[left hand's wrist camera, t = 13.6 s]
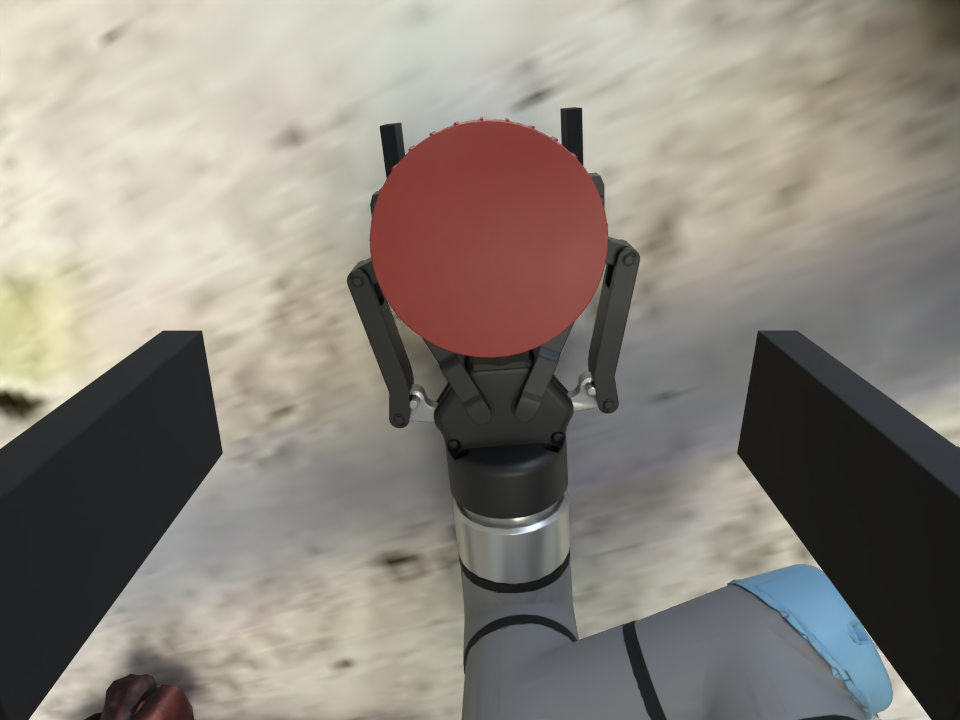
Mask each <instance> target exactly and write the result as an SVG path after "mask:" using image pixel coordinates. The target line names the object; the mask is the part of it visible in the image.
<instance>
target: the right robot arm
mask: <svg viewBox="0 0 960 720" xmlns="http://www.w3.org/2000/svg"><path fill="white" fill-rule="evenodd" d="M380 132H381V139H382V147H383V154H384V162H385V169H386V177H387V178H388V176H389V175H390V173H391V172H392V170H391V169H392V167H394V166H395V165H396V164H398V163H399V162H400V161H401V160H402V159H403V157H404V156H405V151H404V143H403V135H402V126H401V123H394V124H386V125H382V126H380ZM561 135H562V146H563V147H565V148H566V149H567V150H568V151H569V152H570V153H573V154H575V155H576V156H577V158H576V159H577V160H578V161H579V162H580V163H581V165H582V166H583V134H582V108H576V107H574V108H562V109H561ZM588 174H589V175H591V176H592V180H593V182H594V184H595V186H596V188H597V190H598V193H599V195H600V197H601V199H602V200H603V202H602V204H603V207H604V184H603V181H602V179H601V176H600V175H599V174H597V173H588ZM379 194H380V192H379V191H377V192H375V193H374V194H373V196H372V200H371V204H370V206H371V213H372V214H373V212H374V208H375V204H376V202H377V199H378V196H379ZM639 262H640V256H639V254H638V252H637V251H636V250H635V249H634V248H633V247H632V246H631V245H630V244H629V243H628V242H627V241H625V240H617V239H614V238H610V237H608V248H607V258H606V262H605V263H607V265H606V270H605V275H604V280H603V285H602V290H601V295H600V300H599V305H598V310H597V315H596V320H595V325H594V330H593V335H592V340H591V345H590V350H589V357H588V369H589V371H588V372H584V373H583V374H581V375H580V376H579V379H578V385H577V387H576V388H575V389H574V390H573V391H570V392H568V391H567V389H566V388H565V387H564V386H563V385H562V384H561V383H560V382H559V380H558V379H557V378H556V377H555V376H554V375H553V373H554V371H555V369H556V366H557V364H558V361H559V356H560V352H561V350H562V348H563V346H564V344H565V341H566V339H567V337H568V335H569V333H570V330H571V328H572V326H573V324H574V322H575V321H574V322H573V323H572V324H571V325H570V326H569V327H568V328H567V329H565V330H564V331H563V332H562V333H561V334H559V335H558V336H556V337H555V338H553V339H552V340H550V341H549V342H547V343H545V344H543V345H541V346H539V347H537V348H534V349H531V350H529V351H527V352H523V353H519V354H515V355H510V356H504V357H493V358H490V357H474V356H467V355H462V354H458V353H455V352H451V351H448V350H446V349H443V348H441V347H439V346H436V345H434V344H433V343H431V342H429V341H427V340H426V339H424V338H423V340H424V341H425V343H426V344H427V346H428V347H429V349H430V350H431V352H432V353H433V355H434V356H435V358H436V360H437V361H438V363H439V365H440V368H441V371H442V373H443V374H444V376H445V377H446V379H447V380H448V382H449V383H448V384H447V386H446V387H445V389H444V390H443V392H442V394H441V395H440V397H439V398H438V400H437V401H432V400H430V399H429V398H428V397H427V395H426V392H425V389H424V388H423V387H422V386H420V385H419V384H414V378H413V372H412V368H411V365H410V362H409V359H408V357H407V354H406V351H405V348H404V346H403V343H402V340H401V338H400V335H399V332H398V329H397V327H396V324H395V321H394V318H393V316H392V313H391V310H390V307H389V305H388V302H387V299H386V298H385V296H384V294H383V292H382V290H381V288H380V286H379V283H378V281H377V278H376V275H375V271H374V268H373V263H372V257H371V258H369V259H367V260H365V261H360V262H358V264H357V265H356V266H355V267H354V269H353V270H352V271H351V273H350V274H349V275H348V278H347V284H348V287H349V289H350V292H351V294H352V297H353V300H354V302H355V305H356V307H357V310H358V313H359V315H360V318H361V320H362V323H363V326H364V328H365V331H366V333H367V336H368V339H369V341H370V344H371V346H372V349H373V352H374V354H375V357H376V359H377V362H378V365H379V367H380V370H381V372H382V375H383V378H384V380H385V383H386V385H387V388H388V391H389V420H390V423H391V424H392V425H393V426H394V427H396V428H403V427H405V426H407V425H408V423H409V421H424V422H435V424H436V426H437V428H438V429H439V430H440V431H441V433H442V434H443V436H444V439H445V445H446V453H447V462H448V470H449V479H450V487H451V493H452V495H453V514H454V521H455V529H456V537H457V545H458V551H459V559H460V564H461V573H462V585H463V597H464V610H465V628H464V674H465V682H464V696H463V710H462V720H881V719H879V717H878V715H877V713H878V712H881V711H884V710H885V709H887V708H888V707H889V705H890V704H891V702H892V697H893V691H892V686H891V682H890V679H889V676H888V674H887V671H886V669H885V667H884V664H883V662H882V660H881V658H880V656H879V654H878V652H877V650H876V648H875V646H874V644H873V642H872V640H871V638H870V637H869V636H868V635H867V633H866V631H865V630H864V628H863V626H862V624H861V622H860V621H859V620H858V618H857V617H856V615H855V614H854V613H853V611H852V610H851V609H850V607H849V606H848V604H847V603H846V602H845V600H844V599H843V598H842V596H841V595H840V593H839V592H838V591H837V589H836V588H835V587H834V585H833V584H832V582H831V581H830V580H829V578H828V577H827V576H826V574H825V573H824V572H823V571H821V570H820V569H818V568H816V567H814V566H811V565H806V564H798V565H792V566H789V567H785V568H781V569H778V570H774V571H771V572H767V573H763V574H760V575H756V576H753V577H749V578H745V579H742V580H740V579H739V580H733V581H732V582H730V583H728V585H727V586H726V587H723V588H721V589H718V590H715V591H713V592H710V593H708V594H705V595H703V596H700V597H697V598H695V599H692V600H690V601H687V602H685V603H682V604H679V605H677V606H674V607H672V608H669V609H667V610H664V611H661V612H659V613H656V614H654V615H651V616H649V617H646V618H643V619H641V620H638V621H637V620H636V621H632V622H630V623H627V624H623V625H620V626H617V627H615V628H612V629H609V630H606V631H603V632H601V633H598V634H595V635H592V636H590V637H587V638H584V639H581V640H579V638H578V633H577V627H576V621H575V616H574V609H573V599H572V585H571V571H570V523H569V501H568V493H567V490H566V489H567V485H568V474H567V448H566V429H567V425H568V423H569V421H570V419H571V418H572V415H573V412H578V411H583V410H588V409H592V408H597V407H599V409H600V410H601V411H602V412H604V413H612V412H614V411H615V410H616V409H617V408H618V404H619V402H618V396H617V390H616V384H615V378H614V376H615V372H616V367H617V363H618V358H619V353H620V349H621V344H622V340H623V335H624V331H625V326H626V321H627V317H628V312H629V308H630V303H631V299H632V294H633V289H634V285H635V280H636V276H637V271H638V267H639Z"/></svg>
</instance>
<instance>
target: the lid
mask: <svg viewBox="0 0 960 720" xmlns="http://www.w3.org/2000/svg"><path fill="white" fill-rule="evenodd" d="M534 128H535V127H534V126H532V125H530V126H529V127H528V126H525V125H522V124H519V123H516V122H510V121H509V119H507V118H505V121H504V120H490V119H483V117H480V120H474V121H467V122H463V123H460V124H458V122H455V123H454V125H453V126H450V127H448V128H445V129H443V130H440V131H439V132H437V133H435V131H434V132H432V133H431V134H430V137H428V138H426V139H425V140H424V141H422V142H421V143H420V144H418V145H417V146H416V147H415V146H413V147H411V148H410V149H409V152H408V153H407V154H406V155H405V156H404V157H403V159H402V160H401V161H400V162H399V163H398V164H396V165H395V166H394V167H392V169H391V170H392V172H391V173H390V175H389V176H388V178H387V180H386V182H385V183H384V185H383V187H382V188H381V189H380V190H379V192H380V194H379V196H378V199H377V202H376V204H375V208H374V212H373V214H372V221H371V231H370V250H371V257H372V263H373V268H374V271H375V275H376V278H377V281H378V283H379V286H380V288H381V290H382V292H383V294H384V296H385V298H386V299H387V301H388V303H389V304H390V306H391V307H392V309H393V310H394V311H395V312H396V314H397V315H398V316H399V317H400V319H401V320H402V321H403V322H404V323H405V324H406V325H407V326H409V327H410V328H411V329H412V330H413V331H414V332H416V333H417V334H418V335H420V336H421V337H422V338H424V339H426V340H427V341H429V342H431V343H433V344H434V345H436V346H439V347H441V348H443V349H446V350H448V351H451V352H455V353H458V354H462V355H467V356H474V357H490V358H493V357H504V356H510V355H515V354H519V353H523V352H526V351H529V350H531V349H534V348H537V347H539V346H541V345H543V344H545V343H547V342H549V341H550V340H552V339H553V338H555V337H556V336H558V335H559V334H561V333H562V332H563V331H564V330H565V329H567V328H568V327H569V326H570V325H571V324H572V323H573V322H574V321H575V320H576V319H577V318H578V317H579V316H580V314H581V313H582V312H583V311H584V309H585V308H586V306H587V305H588V304H589V302H590V301H591V299H592V297H593V295H594V293H595V291H596V289H597V288H598V285H599V282H600V280H601V277H602V274H603V271H604V267H605V262H606V258H607V248H608V227H607V226H608V224H607V221H606V215H605V210H604V207H603V204H602V202H603V200H602V199H601V197H600V195H599V193H598V190H597V188H596V186H595V184H594V182H593V180H592V176H591V175H589V174H588V173H587V171H586V169H585V168H584V167H583V166H582V165H581V163H580V162H579V161H578V160H577V159H576V158H577V156H576V155H575V154H573V153H570V152H569V151H568V150H567V149H566V148H565V147H563V146H562V145H561V144H559V143H558V142H557V141H558V139H556V138H554V137H551V138H550V137H549V136H547V135H545V134H543V133H541V132H539V131H537V130H535V129H534Z"/></svg>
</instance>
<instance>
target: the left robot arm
mask: <svg viewBox="0 0 960 720" xmlns="http://www.w3.org/2000/svg"><path fill="white" fill-rule="evenodd" d="M222 454H223V452H222V446H221V440H220V434H219V428H218V422H217V416H216V411H215V405H214V399H213V393H212V387H211V381H210V375H209V369H208V363H207V358H206V352H205V346H204V340H203V334H202V331H162V332H161V333H159V334H158V335H156V336H155V337H154V338H152V339H151V340H150V341H148V342H147V343H145V344H144V345H143V346H141V347H140V348H139V349H137V350H136V351H134V352H133V353H132V354H130V355H129V356H128V357H126V358H125V359H123V360H122V361H121V362H119V363H118V364H117V365H115V366H114V367H112V368H111V369H110V370H108V371H107V372H106V373H104V374H103V375H101V376H100V377H99V378H97V379H96V380H95V381H93V382H92V383H90V384H89V385H88V386H86V387H85V388H84V389H82V390H81V391H79V392H78V393H77V394H75V395H74V396H73V397H71V398H70V399H68V400H67V401H66V402H64V403H63V404H62V405H60V406H59V407H57V408H56V409H55V410H53V411H52V412H51V413H49V414H48V415H46V416H45V417H44V418H42V419H41V420H40V421H38V422H37V423H35V424H34V425H33V426H31V427H30V428H29V429H27V430H26V431H24V432H23V433H22V434H20V435H19V436H17V437H16V438H15V439H13V440H12V441H11V442H9V443H8V444H6V445H5V446H4V447H2V448H1V449H0V720H29V718H30V717H31V716H32V714H33V713H34V711H35V710H36V709H37V707H38V706H39V705H40V703H41V702H42V700H43V699H44V698H45V696H46V695H47V694H48V692H49V691H50V690H51V688H52V687H53V685H54V684H55V683H56V681H57V680H58V679H59V677H60V676H61V674H62V673H63V672H64V670H65V669H66V668H67V666H68V665H69V663H70V662H71V661H72V659H73V658H74V657H75V655H76V654H77V652H78V651H79V650H80V648H81V647H82V646H83V644H84V643H85V641H86V640H87V639H88V637H89V636H90V635H91V633H92V632H93V631H94V629H95V628H96V626H97V625H98V624H99V622H100V621H101V620H102V618H103V617H104V615H105V614H106V613H107V611H108V610H109V609H110V607H111V606H112V604H113V603H114V602H115V600H116V599H117V598H118V596H119V595H120V593H121V592H122V591H123V589H124V588H125V587H126V585H127V584H128V582H129V581H130V580H131V578H132V577H133V576H134V574H135V573H136V572H137V570H138V569H139V567H140V566H141V565H142V563H143V562H144V561H145V559H146V558H147V556H148V555H149V554H150V552H151V551H152V550H153V548H154V547H155V545H156V544H157V543H158V541H159V540H160V539H161V537H162V536H163V534H164V533H165V532H166V530H167V529H168V528H169V526H170V525H171V523H172V522H173V521H174V519H175V518H176V517H177V515H178V514H179V513H180V511H181V510H182V508H183V507H184V506H185V504H186V503H187V502H188V500H189V499H190V497H191V496H192V495H193V493H194V492H195V491H196V489H197V488H198V486H199V485H200V484H201V482H202V481H203V480H204V478H205V477H206V475H207V474H208V473H209V471H210V470H211V469H212V467H213V466H214V464H215V463H216V462H217V460H218V459H219V458H220V456H221V455H222ZM737 454H738V455H739V456H740V458H741V459H742V460H743V462H744V463H745V465H746V466H747V467H748V469H749V470H750V471H751V473H752V474H753V475H754V477H755V478H756V480H757V481H758V482H759V484H760V485H761V486H762V488H763V489H764V491H765V492H766V493H767V495H768V496H769V497H770V499H771V500H772V502H773V503H774V504H775V506H776V507H777V508H778V510H779V511H780V513H781V514H782V515H783V517H784V518H785V519H786V521H787V522H788V523H789V525H790V526H791V528H792V529H793V530H794V532H795V533H796V534H797V536H798V537H799V539H800V540H801V541H802V543H803V544H804V545H805V547H806V548H807V550H808V551H809V552H810V554H811V555H812V556H813V558H814V559H815V561H816V562H817V563H818V565H819V566H820V567H821V569H822V570H823V572H824V573H825V574H826V576H827V577H828V578H829V580H830V581H831V582H832V584H833V585H834V587H835V588H836V589H837V591H838V592H839V593H840V595H841V596H842V598H843V599H844V600H845V602H846V603H847V604H848V606H849V607H850V609H851V610H852V611H853V613H854V614H855V615H856V617H857V618H858V620H859V621H860V622H861V624H862V625H863V626H864V628H865V629H866V631H867V632H868V633H869V635H870V636H871V637H872V639H873V640H874V641H875V643H876V644H877V646H878V647H879V648H880V650H881V651H882V652H883V654H884V655H885V657H886V658H887V659H888V661H889V662H890V663H891V665H892V666H893V668H894V669H895V670H896V672H897V673H898V674H899V676H900V677H901V679H902V680H903V681H904V683H905V684H906V685H907V687H908V688H909V690H910V691H911V692H912V694H913V695H914V696H915V698H916V699H917V700H918V702H919V703H920V705H921V706H922V707H923V709H924V710H925V711H926V713H927V714H928V716H929V717H930V718H931V720H960V447H956V446H955V445H954V444H952V443H951V442H949V441H948V440H947V439H945V438H944V437H942V436H941V435H940V434H938V433H937V432H936V431H934V430H933V429H931V428H930V427H929V426H927V425H926V424H925V423H923V422H922V421H920V420H919V419H918V418H916V417H915V416H914V415H912V414H911V413H909V412H908V411H907V410H905V409H904V408H903V407H901V406H900V405H898V404H897V403H896V402H894V401H893V400H892V399H890V398H889V397H887V396H886V395H885V394H883V393H882V392H881V391H879V390H878V389H876V388H875V387H874V386H872V385H871V384H870V383H868V382H867V381H865V380H864V379H863V378H861V377H860V376H859V375H857V374H856V373H854V372H853V371H852V370H850V369H849V368H848V367H846V366H845V365H843V364H842V363H841V362H839V361H838V360H837V359H835V358H834V357H832V356H831V355H830V354H828V353H827V352H826V351H824V350H823V349H821V348H820V347H819V346H817V345H816V344H815V343H813V342H812V341H810V340H809V339H808V338H806V337H805V336H804V335H802V334H801V333H799V332H798V331H758V334H757V340H756V346H755V352H754V358H753V363H752V369H751V375H750V381H749V387H748V393H747V399H746V405H745V410H744V416H743V422H742V428H741V434H740V440H739V446H738V452H737Z"/></svg>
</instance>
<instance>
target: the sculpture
mask: <svg viewBox="0 0 960 720" xmlns="http://www.w3.org/2000/svg"><path fill="white" fill-rule="evenodd" d="M84 720H194V716H193V709H192V706H191V704H190V703H189V701H188V699H187V698H186V696H185V695H184V693H183V691H182V690H181V689H180V688H178V687H176V686H169V685H162V686H160V687H159V688H157V684H156V681H155V680H154V678H153V676H150V675H148V674H145V675H134V674H130V675H128V676H126V677H123V678H121V679H118V680H115V681H113V683H112V684H111V685H110V687H109V688H108V689H107V691H106V699H105V706H104V709H103V712H102V713H96V714H94V715H92V716H90V717H88V718H86V719H84Z"/></svg>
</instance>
